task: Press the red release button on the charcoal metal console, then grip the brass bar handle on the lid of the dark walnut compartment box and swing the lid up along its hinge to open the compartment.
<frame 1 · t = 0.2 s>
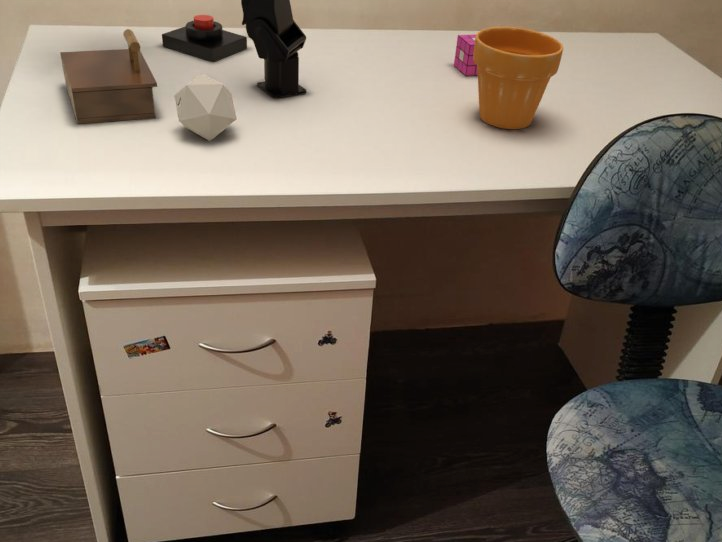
release button: (203, 22, 149), point 4 cm above the table, slide at 0.1 cm
lid: (105, 54, 124), point 7 cm above the table, hinge at 0.0°
compartment: (109, 101, 129), on the table
puzzle toy: (472, 71, 155), on the table
console: (205, 47, 152), on the table
flower pot: (504, 120, 137), on the table
can: (270, 36, 160), on the table
die: (207, 134, 123), on the table
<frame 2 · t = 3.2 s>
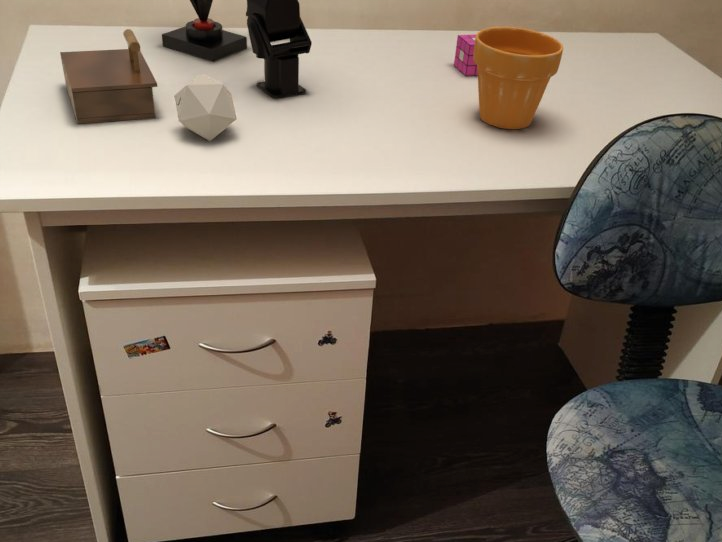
hand: (203, 20, 148), 5 cm above the table, tool pointing down, fingers closed, pressing on release button
release button: (204, 25, 149), point 4 cm above the table, slide at -0.4 cm, touching gripper
everything else where it was.
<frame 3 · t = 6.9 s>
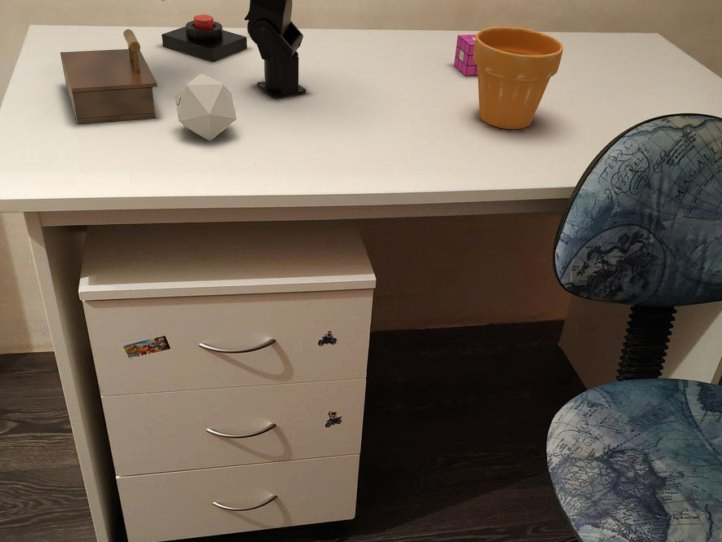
release button: (203, 22, 149), point 4 cm above the table, slide at 0.1 cm
everything else where it was.
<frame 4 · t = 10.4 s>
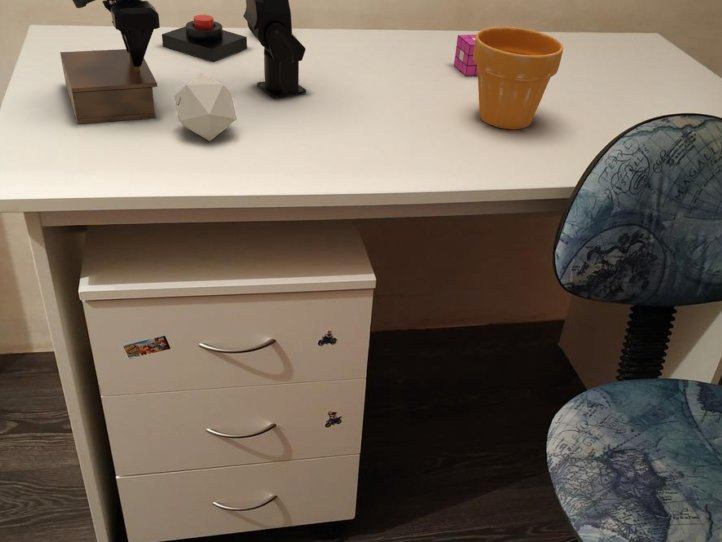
hand: (134, 59, 126), 6 cm above the table, tool pointing down, fingers closed on lid, 6 cm apart
lid: (105, 54, 124), point 7 cm above the table, hinge at 0.0°, touching gripper
everything else where it was.
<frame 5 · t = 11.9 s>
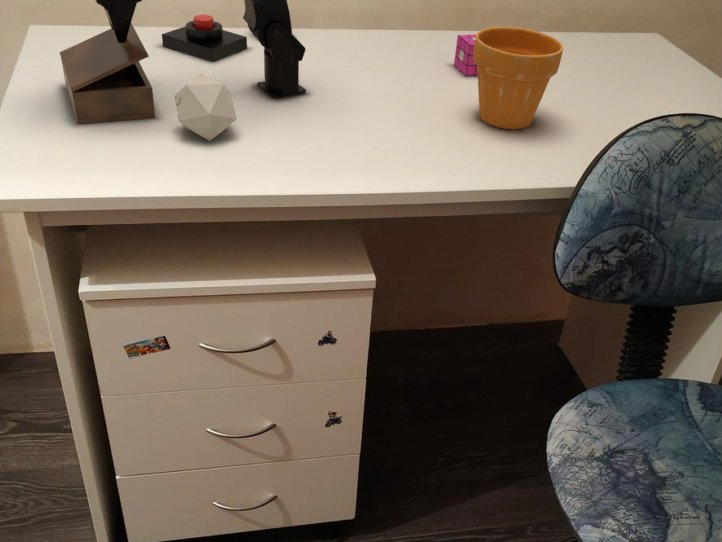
hand: (118, 35, 123), 10 cm above the table, tool pointing down, fingers closed on lid, 6 cm apart
lid: (94, 40, 122), point 10 cm above the table, hinge at 21.5°, touching gripper
everything else where it was.
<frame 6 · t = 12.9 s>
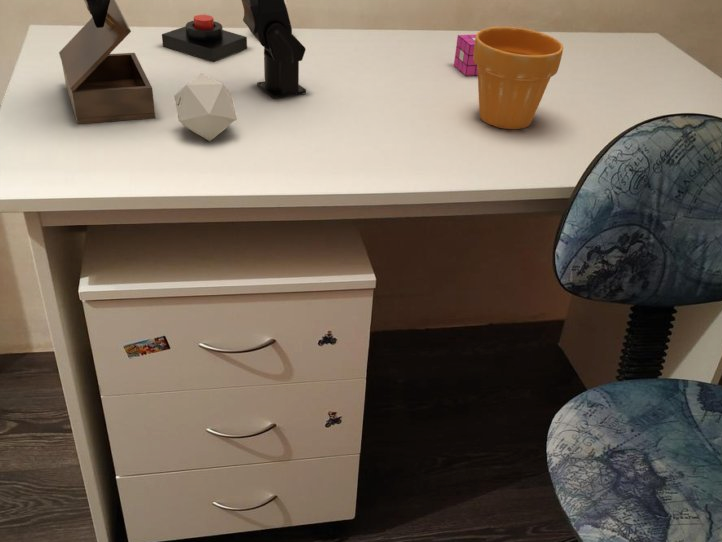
hand: (96, 20, 121), 12 cm above the table, tool pointing down, fingers closed on lid, 6 cm apart
lid: (80, 31, 121), point 11 cm above the table, hinge at 41.2°, touching gripper
everything else where it was.
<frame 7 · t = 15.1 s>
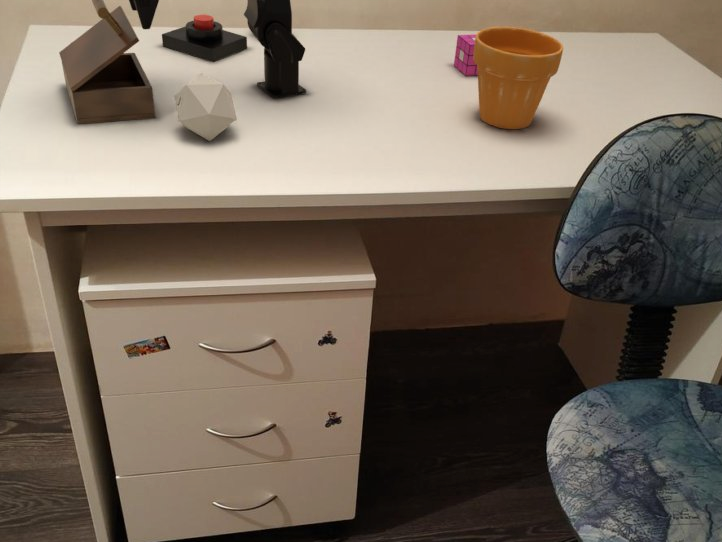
hand: (140, 19, 123), 12 cm above the table, tool pointing down, fingers open, 9 cm apart
lid: (86, 34, 121), point 10 cm above the table, hinge at 33.3°
everything else where it was.
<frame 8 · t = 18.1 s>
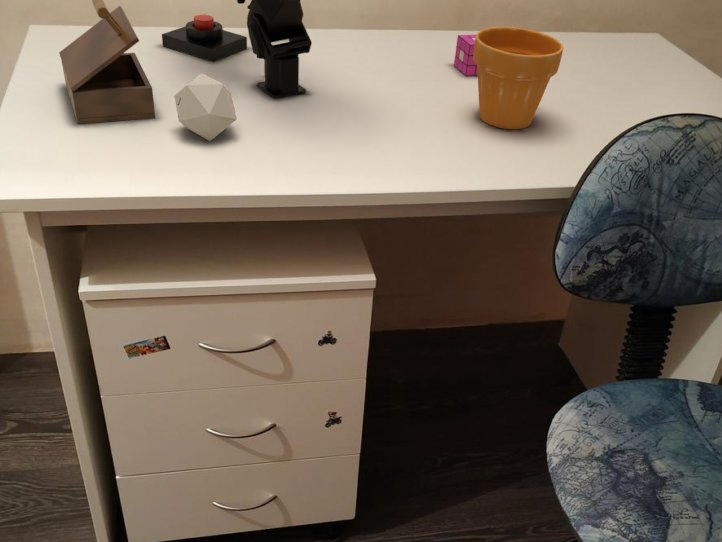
nothing on the table moved.
at the end: release button pushed in 1.1 cm at the most during the clip, back to where it started at the end; release button slide at 0.1 cm; lid at +33° (first picture: +0°) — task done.
